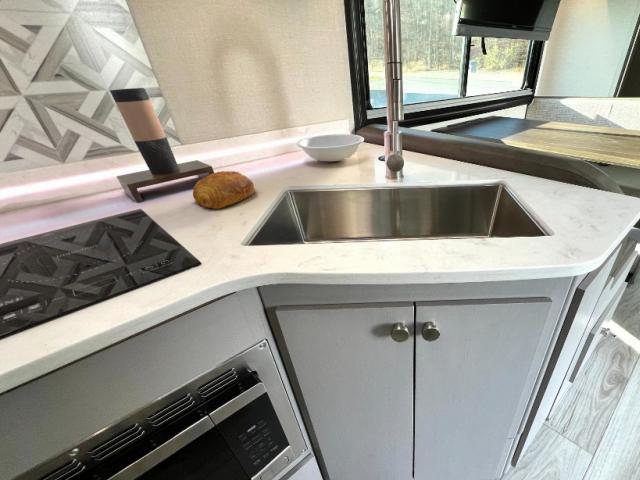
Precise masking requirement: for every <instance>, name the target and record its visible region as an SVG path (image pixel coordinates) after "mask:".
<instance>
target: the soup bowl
mask: <svg viewBox="0 0 640 480" xmlns="http://www.w3.org/2000/svg"><path fill="white" fill-rule="evenodd" d="M363 142H365V138H364V137H363V136H361V135H358V134H352V133H351V134H350V133H331V134H321V135H313V136H309V137H305V138H302V139H300V140H298V141H297V142H296V146H297V147H298V148H300V149H302V150H303V152H304V153H305V154H306V155H307V156H308V157H310V158H311V159H313V160H316V161H320V162H338V161H343V160H346V159H349V158H351V157H352V156H354V155H355V154H356V153H357V152H358V150H359V148H360V145H361V143H363Z"/></svg>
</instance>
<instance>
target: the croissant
mask: <svg viewBox="0 0 640 480" xmlns="http://www.w3.org/2000/svg"><path fill="white" fill-rule="evenodd" d="M254 192H255V184H254V182H253V181H252V180H251V179H250V178H249V177H248V176H246V175H245V174H242V173H241V172H240V171H239V172H238V171H233V170H229V171H228V170H221V171H216V172H214V173H213V174H210V175H209V176H207V177H205V178H203V179H201V178H200V179H199V180H198V181H197V182H196V183H195V185H194V186H193V191H192V197H193V199H194V201H195V203H196V204H197V205H199V206H202V207H204V208H209V209H216V210H217V209H218V210H219V209H223V208H225V207H228V206H231V205H234V204H236V203H238V202H241V201H243V200H244V199H247V198H248V197H250V196H252V195H253V193H254Z"/></svg>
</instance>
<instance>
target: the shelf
mask: <svg viewBox="0 0 640 480" xmlns="http://www.w3.org/2000/svg"><path fill="white" fill-rule="evenodd" d="M177 165H178V167H179V170H177V171H175V172H171V173H167V174H152V173H151V172H150V170H149V169H147V170H140V171H136V172H131V173H125V174H121V175H116V179H117V180H118V182H119V184H120V186H121V187H122V189H123V191H124V193H125V195H127V196H128V197H129V198H131V199H132V200H133V201H134V202H135V203H136V204H138V203H143V202H144V199H143V198H142V196H141V194H140V192H139V190H138V189H141V188H145V187H150V186H154V185H159V184H163V183H167V182H172V181H177V180H182V179H187V178H190V177H196V176H197V177H198V178H199V179H200V180H201V179H203V178H205V177H207V176H209V175H210V174H213V173H215V171H214V167H213V166H212V165H210V164H207V163H205V162H203V161H200V160H197V159H196V160H191V161H185V162H182V163H181V162H180V163H177Z"/></svg>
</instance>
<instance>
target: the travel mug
mask: <svg viewBox="0 0 640 480" xmlns="http://www.w3.org/2000/svg"><path fill="white" fill-rule="evenodd" d="M109 93H110V95H111V97H112V99H113V100H114V103H115V104H116V107H117V109H118V111H119V113H120V115H121V117H122V119H123V121H124V124H125V125H126V128H127V129H128V131H129V133H130V136H131V137H132V140H133V142H134V144H135V145H136V147H137V149H138V151H139V153H140V155H141V156H142V159H143V161H144V162H145V164H146V167H147V168H148V170H150V172H151V173H152V174H167V173H171V172H175V171H177V170H179V167H178V165H177V164H178V162H177V160H176V158H175V155H174V153H173V150H172V147H171V145H170V143H169V140H168V137H167V135H166V133H165V131H164V129H163V126H162V124H161V121H160V120H159V117H158V115H157V113H156V111H155V108H154V106H153V104H152V102H151V99H150V97H149V95H148V93H147V90H146V88H144V87H134V88H133V87H132V88H119V89H110V90H109Z"/></svg>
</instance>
